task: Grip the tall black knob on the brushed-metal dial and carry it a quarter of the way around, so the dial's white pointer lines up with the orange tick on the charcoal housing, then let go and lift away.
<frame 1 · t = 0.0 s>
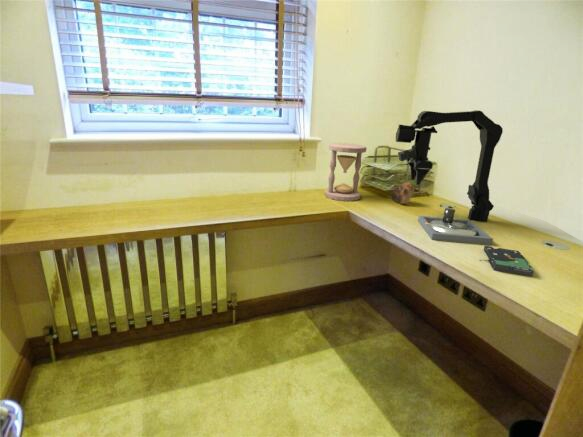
hand: (415, 181, 143), 15 cm above the worktop, tool pointing down, fingers open, 9 cm apart
dial: (453, 223, 128), point 4 cm above the worktop, hinge at 0.0°
dial housing: (451, 233, 129), on the worktop
disk drive: (505, 265, 107), on the worktop
hourglass: (342, 196, 172), on the worktop
decorative rock: (400, 203, 167), on the worktop
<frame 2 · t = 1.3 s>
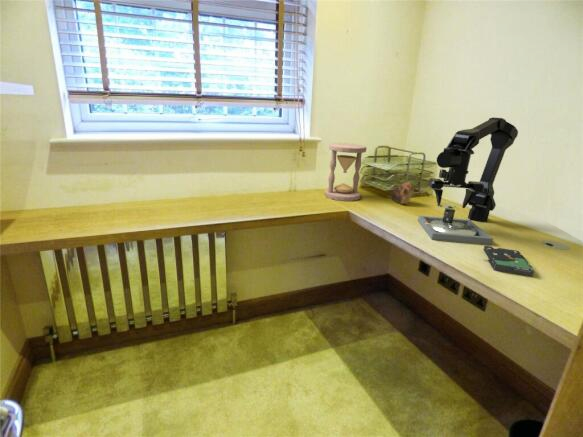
hand: (450, 207, 132), 9 cm above the worktop, tool pointing down, fingers open, 9 cm apart
nothing on the worktop moved.
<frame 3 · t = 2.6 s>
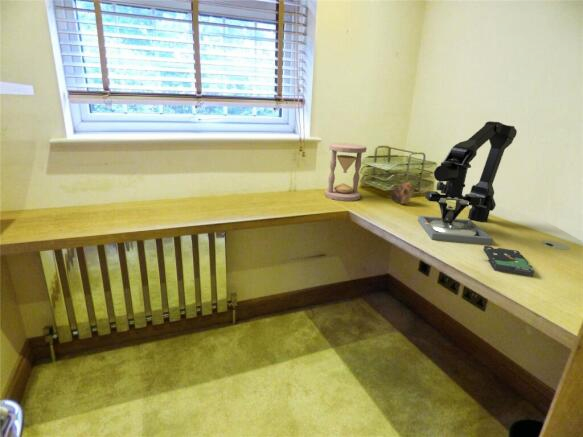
hand: (447, 219, 134), 4 cm above the worktop, tool pointing down, fingers closed on dial, 4 cm apart
dial: (453, 223, 128), point 4 cm above the worktop, hinge at 0.0°, touching gripper
everything else where it was.
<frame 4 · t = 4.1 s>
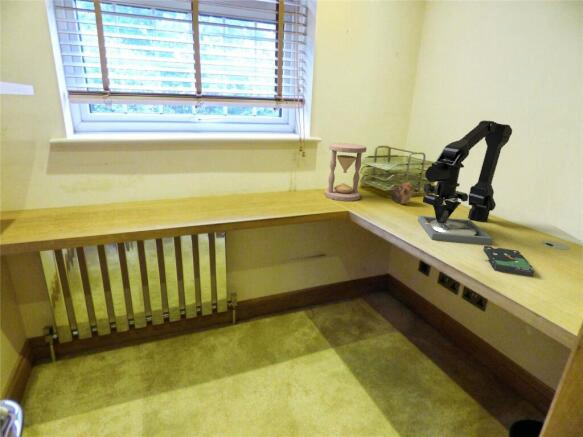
hand: (441, 219, 133), 4 cm above the worktop, tool pointing down, fingers open, 4 cm apart
dial: (453, 223, 128), point 4 cm above the worktop, hinge at 23.4°, touching gripper
everything else where it was.
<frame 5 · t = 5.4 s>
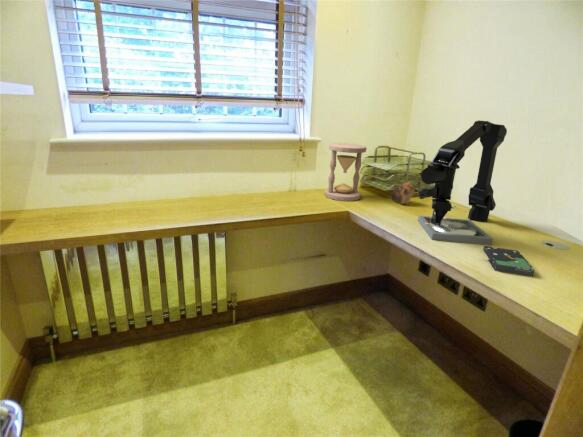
hand: (437, 221, 131), 4 cm above the worktop, tool pointing down, fingers open, 5 cm apart
dial: (453, 223, 128), point 4 cm above the worktop, hinge at 61.4°, touching gripper
everything else where it was.
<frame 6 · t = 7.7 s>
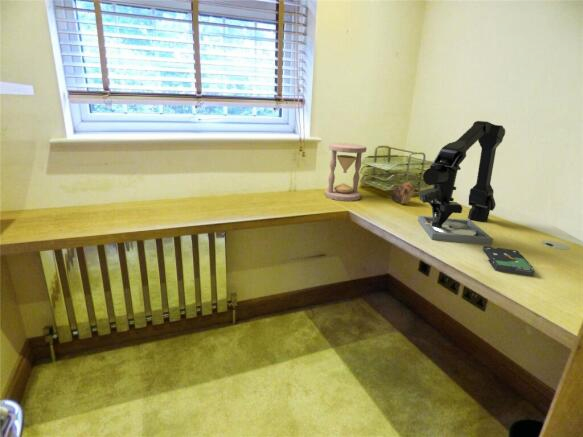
hand: (437, 223, 128), 4 cm above the worktop, tool pointing down, fingers open, 4 cm apart
dial: (453, 223, 128), point 4 cm above the worktop, hinge at 95.6°
everything else where it was.
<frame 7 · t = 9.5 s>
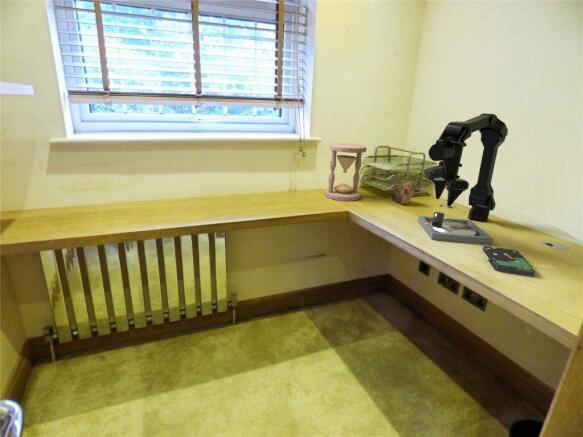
hand: (442, 202, 126), 12 cm above the worktop, tool pointing down, fingers open, 9 cm apart
nothing on the worktop moved.
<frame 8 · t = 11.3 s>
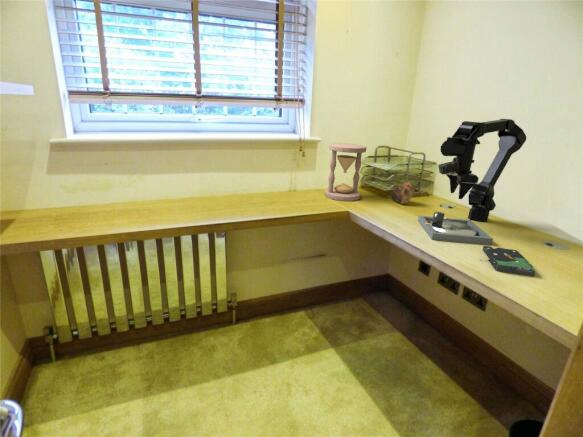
hand: (455, 195, 136), 12 cm above the worktop, tool pointing down, fingers open, 9 cm apart
nothing on the worktop moved.
at the end: dial at +96° (first picture: +0°); disk drive moved 0.8 cm from its start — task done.
